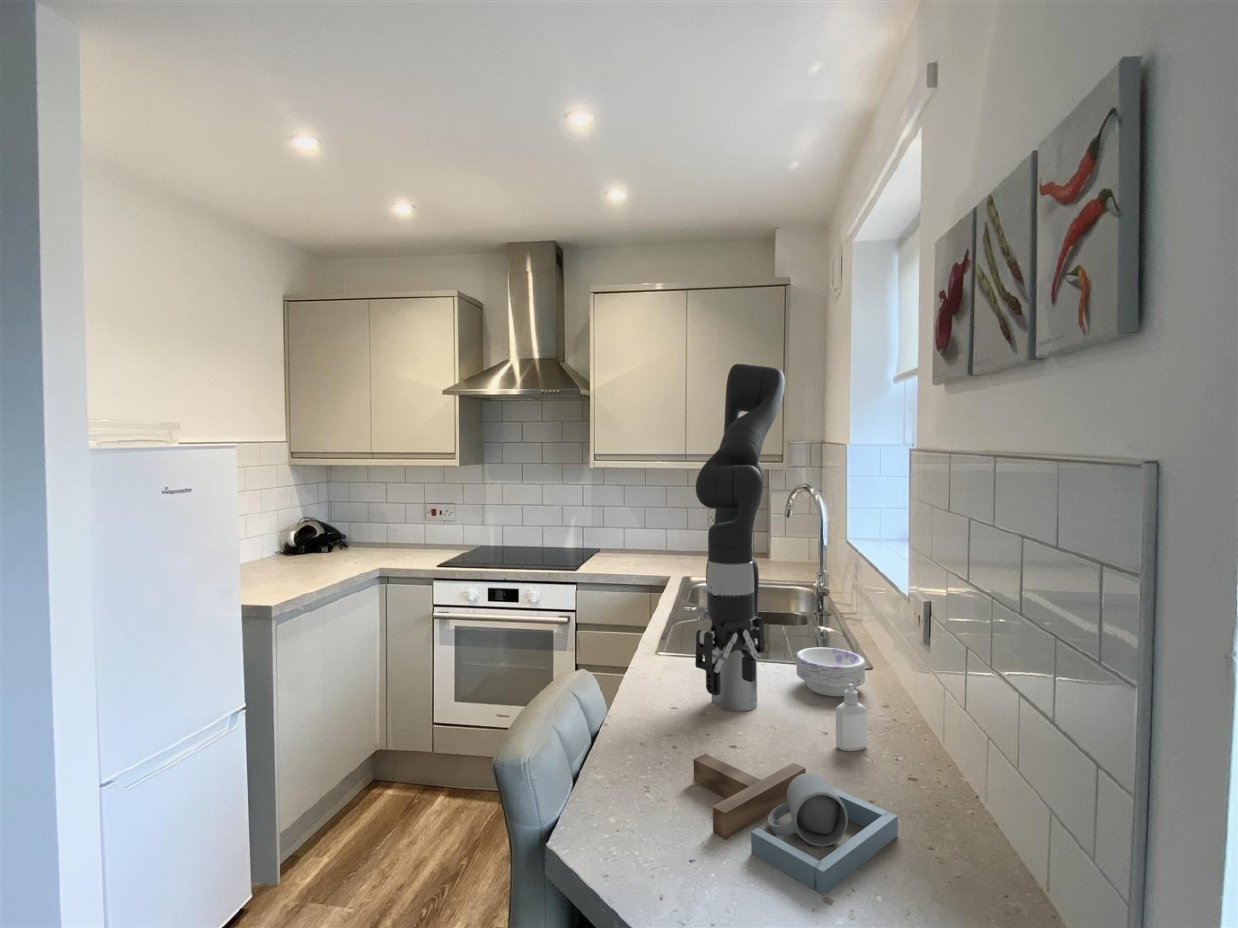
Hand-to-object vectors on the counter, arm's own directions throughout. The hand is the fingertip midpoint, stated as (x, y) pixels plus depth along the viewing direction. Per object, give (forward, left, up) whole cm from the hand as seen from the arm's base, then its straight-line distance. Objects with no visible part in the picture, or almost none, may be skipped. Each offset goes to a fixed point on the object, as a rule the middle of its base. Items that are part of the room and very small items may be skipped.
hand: (731, 686), depth 106 cm
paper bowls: (-15, +53, -18) cm, 58 cm away
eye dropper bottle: (+4, +30, -18) cm, 35 cm away
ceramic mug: (+14, 0, -18) cm, 23 cm away
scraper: (0, 0, -18) cm, 18 cm away
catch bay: (+17, 0, -18) cm, 25 cm away
